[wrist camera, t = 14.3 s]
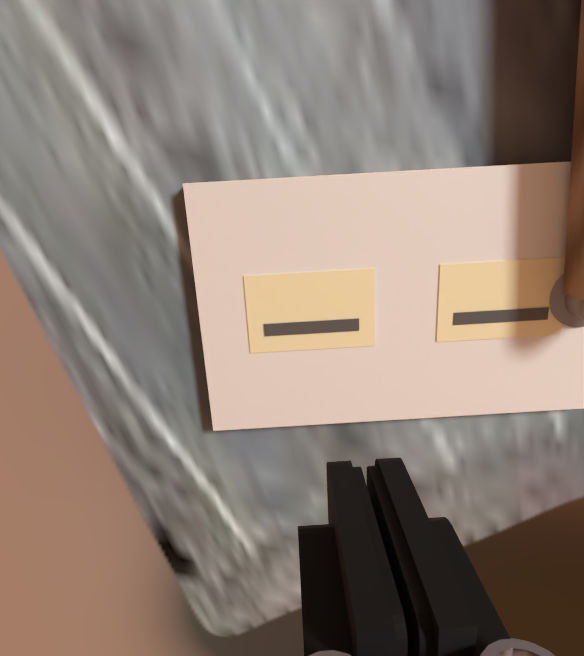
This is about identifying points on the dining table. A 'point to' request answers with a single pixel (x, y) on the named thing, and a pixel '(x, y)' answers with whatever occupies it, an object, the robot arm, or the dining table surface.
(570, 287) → the bar
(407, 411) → the label plate
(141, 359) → the dining table surface
